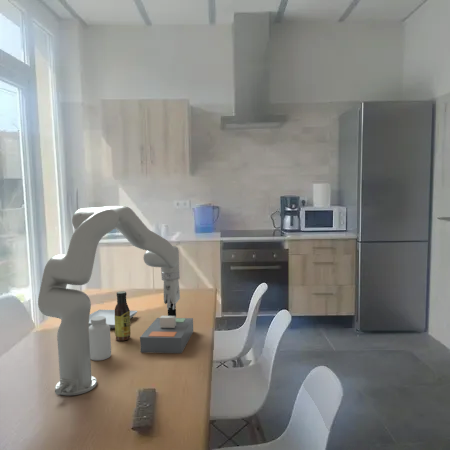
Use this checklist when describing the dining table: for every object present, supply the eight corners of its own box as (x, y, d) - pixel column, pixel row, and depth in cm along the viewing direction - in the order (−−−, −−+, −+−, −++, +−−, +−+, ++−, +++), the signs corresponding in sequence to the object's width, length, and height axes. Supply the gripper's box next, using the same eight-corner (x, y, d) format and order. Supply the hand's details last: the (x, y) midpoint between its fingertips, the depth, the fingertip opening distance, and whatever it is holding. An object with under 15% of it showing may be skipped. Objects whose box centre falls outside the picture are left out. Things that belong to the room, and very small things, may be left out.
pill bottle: (89, 362, 157) (86, 322, 156) (89, 354, 165) (87, 316, 163) (111, 359, 159) (109, 320, 158) (111, 351, 167) (109, 313, 165)
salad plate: (75, 329, 195) (74, 321, 195) (99, 315, 216) (99, 308, 215) (117, 332, 190) (117, 324, 190) (138, 317, 211) (138, 310, 210)
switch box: (181, 353, 163) (180, 337, 163) (140, 352, 165) (139, 336, 165) (193, 331, 187) (192, 317, 186) (157, 331, 189) (157, 317, 188)
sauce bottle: (126, 342, 177) (124, 294, 175) (112, 341, 178) (110, 294, 176) (133, 336, 183) (131, 290, 181) (119, 335, 184) (117, 290, 182)
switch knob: (174, 327, 174) (174, 318, 173) (160, 327, 174) (159, 317, 174) (176, 325, 177) (175, 315, 176) (161, 325, 177) (161, 315, 177)
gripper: (175, 279, 173) (176, 324, 174) (183, 272, 188) (184, 313, 189) (157, 279, 174) (158, 323, 175) (166, 272, 188) (167, 312, 190)
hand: (172, 318), depth 182 cm, fingers closed
